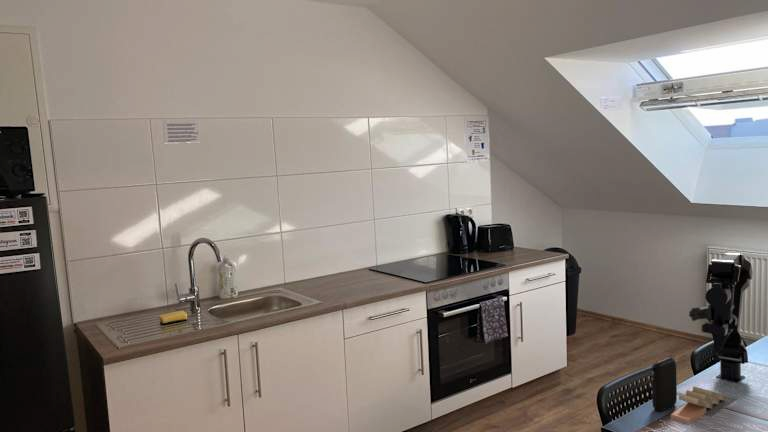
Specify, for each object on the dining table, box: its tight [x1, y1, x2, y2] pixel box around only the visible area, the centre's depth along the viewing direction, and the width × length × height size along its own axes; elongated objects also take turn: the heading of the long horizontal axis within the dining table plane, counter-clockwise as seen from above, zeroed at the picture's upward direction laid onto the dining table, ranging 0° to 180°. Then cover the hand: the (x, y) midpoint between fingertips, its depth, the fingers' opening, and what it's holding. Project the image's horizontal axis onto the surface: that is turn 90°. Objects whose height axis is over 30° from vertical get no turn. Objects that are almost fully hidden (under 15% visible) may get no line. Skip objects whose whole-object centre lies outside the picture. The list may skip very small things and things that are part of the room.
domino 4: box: [692, 386, 727, 401], centre depth 175 cm, size 2×5×10 cm
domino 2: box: [670, 402, 706, 425], centre depth 167 cm, size 2×5×10 cm
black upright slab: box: [650, 357, 678, 412], centre depth 173 cm, size 11×3×15 cm, turn 123°
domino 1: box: [678, 393, 713, 409], centre depth 170 cm, size 2×5×10 cm
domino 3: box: [685, 389, 720, 405], centre depth 172 cm, size 2×5×10 cm
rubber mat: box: [679, 395, 738, 417], centre depth 175 cm, size 17×9×1 cm, turn 127°
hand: (717, 350), depth 182 cm, fingers closed
